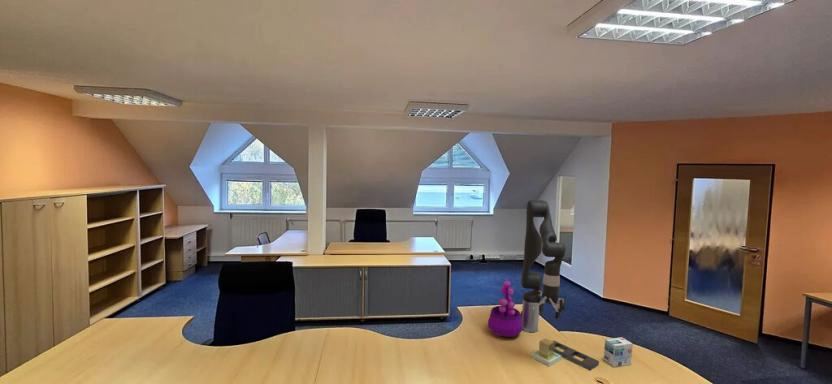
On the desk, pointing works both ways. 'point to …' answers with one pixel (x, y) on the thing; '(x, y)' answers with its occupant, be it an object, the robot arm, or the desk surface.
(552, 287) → the robot arm
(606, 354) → the light bulb box
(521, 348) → the desk surface
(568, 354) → the rail
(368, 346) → the desk surface
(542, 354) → the tan rectangular block
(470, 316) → the desk surface
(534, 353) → the parts tray
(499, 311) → the decorative plant
